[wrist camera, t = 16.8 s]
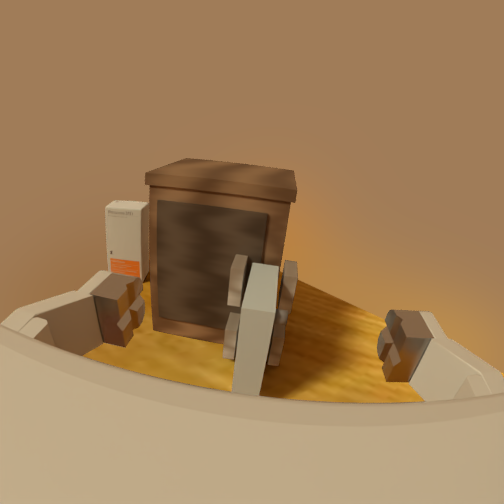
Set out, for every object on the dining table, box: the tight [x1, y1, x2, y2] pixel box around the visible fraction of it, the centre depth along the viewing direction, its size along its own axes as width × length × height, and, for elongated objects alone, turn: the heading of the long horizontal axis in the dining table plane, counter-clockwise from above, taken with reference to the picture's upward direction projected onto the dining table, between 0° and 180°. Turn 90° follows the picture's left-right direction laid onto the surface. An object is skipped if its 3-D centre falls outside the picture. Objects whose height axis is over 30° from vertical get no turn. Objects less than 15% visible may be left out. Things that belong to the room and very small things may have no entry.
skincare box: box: [105, 200, 149, 283], centre depth 46 cm, size 6×4×12 cm
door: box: [232, 263, 288, 396], centre depth 29 cm, size 4×8×12 cm, turn 174°
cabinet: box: [145, 158, 298, 366], centre depth 37 cm, size 16×17×19 cm
